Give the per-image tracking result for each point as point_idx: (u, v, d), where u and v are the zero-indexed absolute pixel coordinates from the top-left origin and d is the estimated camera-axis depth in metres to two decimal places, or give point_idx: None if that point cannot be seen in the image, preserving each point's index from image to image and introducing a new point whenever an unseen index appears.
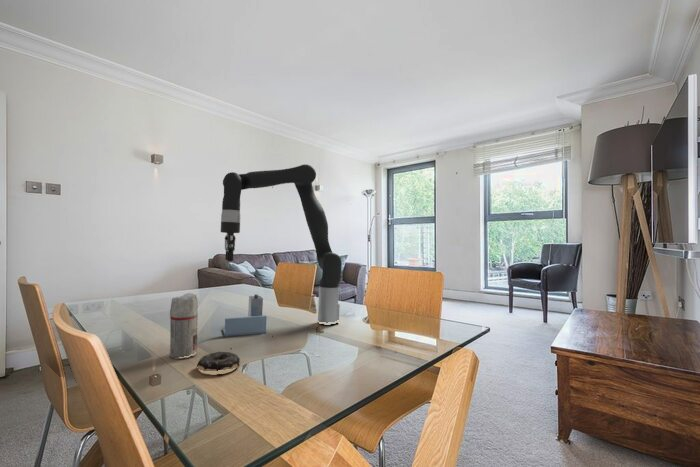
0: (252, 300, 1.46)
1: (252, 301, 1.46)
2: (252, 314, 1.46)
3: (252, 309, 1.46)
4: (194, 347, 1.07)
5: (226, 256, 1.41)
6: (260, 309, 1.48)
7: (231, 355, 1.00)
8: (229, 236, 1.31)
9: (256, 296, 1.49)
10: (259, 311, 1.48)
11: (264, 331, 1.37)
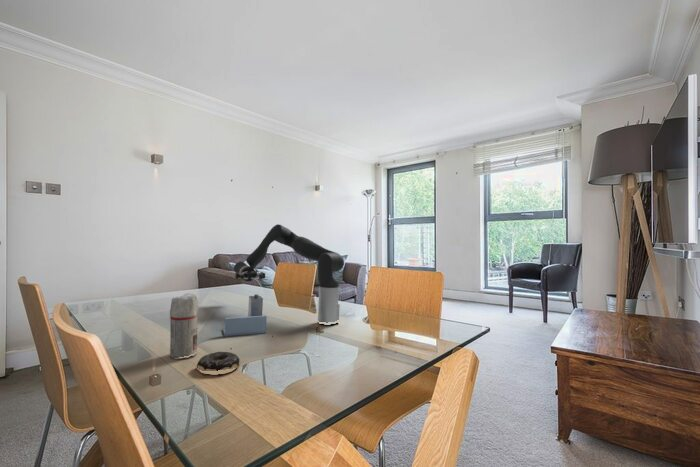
0: (252, 300, 1.46)
1: (252, 301, 1.46)
2: (252, 314, 1.46)
3: (252, 309, 1.46)
4: (194, 347, 1.07)
5: (259, 278, 1.64)
6: (260, 309, 1.48)
7: (231, 355, 1.00)
8: None
9: (256, 296, 1.49)
10: (259, 311, 1.48)
11: (264, 331, 1.37)
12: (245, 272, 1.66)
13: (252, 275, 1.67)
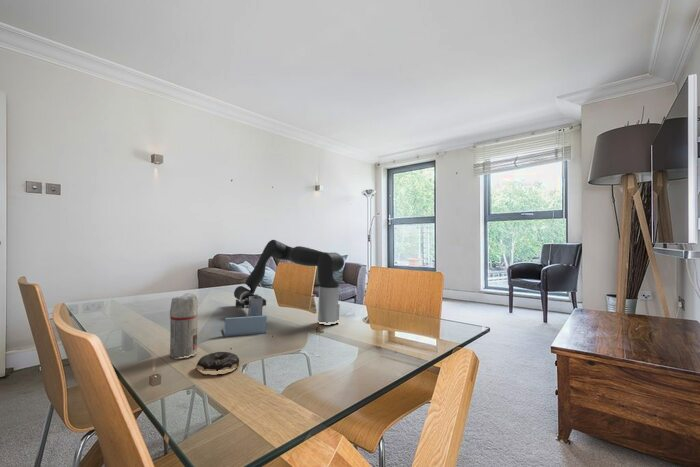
0: (252, 300, 1.46)
1: (252, 301, 1.46)
2: (252, 314, 1.46)
3: (252, 309, 1.46)
4: (194, 347, 1.07)
5: None
6: (260, 309, 1.48)
7: (231, 355, 1.00)
8: None
9: (256, 296, 1.49)
10: (259, 311, 1.48)
11: (264, 331, 1.37)
12: (246, 299, 1.62)
13: None
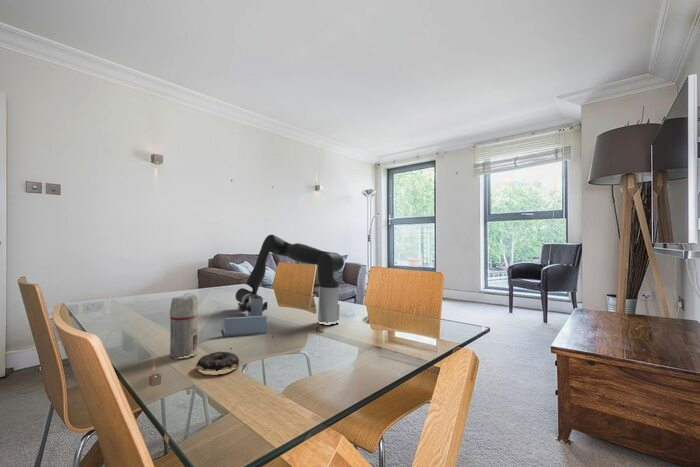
0: (252, 300, 1.46)
1: (252, 301, 1.46)
2: (252, 314, 1.46)
3: (252, 309, 1.46)
4: (194, 347, 1.07)
5: None
6: (260, 309, 1.48)
7: (230, 355, 1.00)
8: (238, 307, 1.54)
9: (256, 296, 1.49)
10: (259, 311, 1.48)
11: (264, 331, 1.37)
12: None
13: None
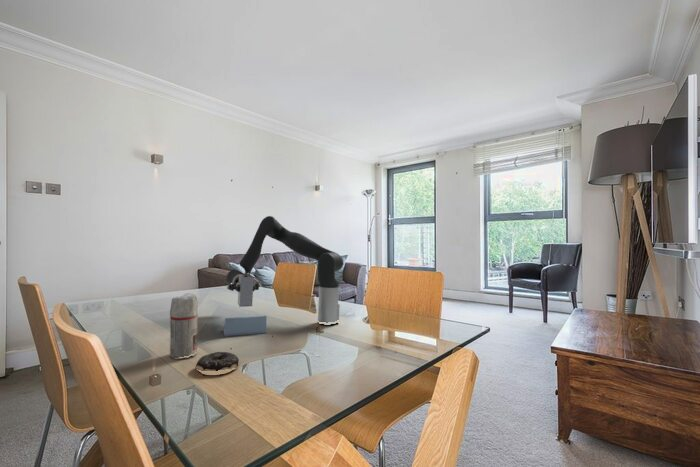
0: (242, 279, 1.36)
1: (242, 280, 1.36)
2: (242, 294, 1.36)
3: (242, 288, 1.36)
4: (194, 347, 1.07)
5: None
6: (250, 288, 1.37)
7: (230, 355, 1.00)
8: (227, 287, 1.43)
9: (246, 275, 1.38)
10: (250, 290, 1.37)
11: (264, 331, 1.37)
12: None
13: None
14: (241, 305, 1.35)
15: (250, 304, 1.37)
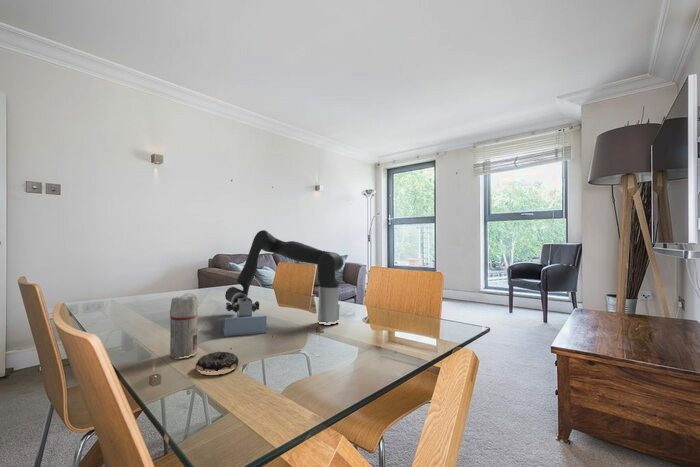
0: (241, 303, 1.35)
1: (241, 304, 1.35)
2: None
3: (240, 313, 1.35)
4: (194, 347, 1.07)
5: (252, 310, 1.39)
6: (249, 313, 1.36)
7: (230, 355, 1.00)
8: None
9: (245, 299, 1.37)
10: (248, 314, 1.36)
11: (264, 331, 1.37)
12: None
13: None
14: None
15: None
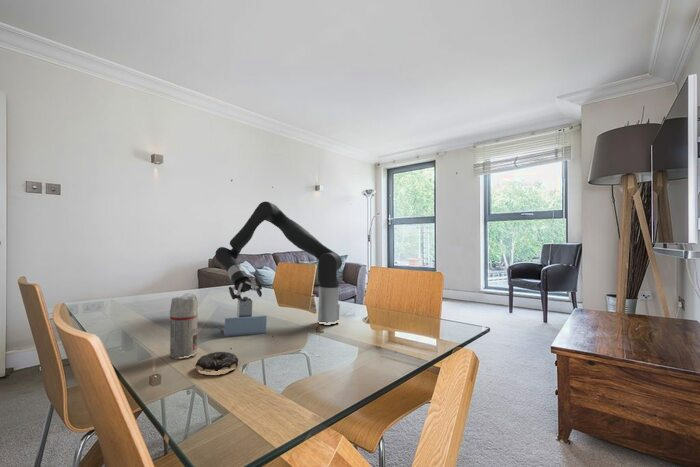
0: (240, 303, 1.35)
1: (240, 304, 1.35)
2: None
3: (240, 313, 1.35)
4: (194, 347, 1.07)
5: None
6: (249, 313, 1.37)
7: (230, 355, 1.00)
8: (229, 290, 1.54)
9: (245, 299, 1.37)
10: (248, 314, 1.36)
11: (264, 331, 1.37)
12: (241, 289, 1.53)
13: (248, 289, 1.55)
14: None
15: None
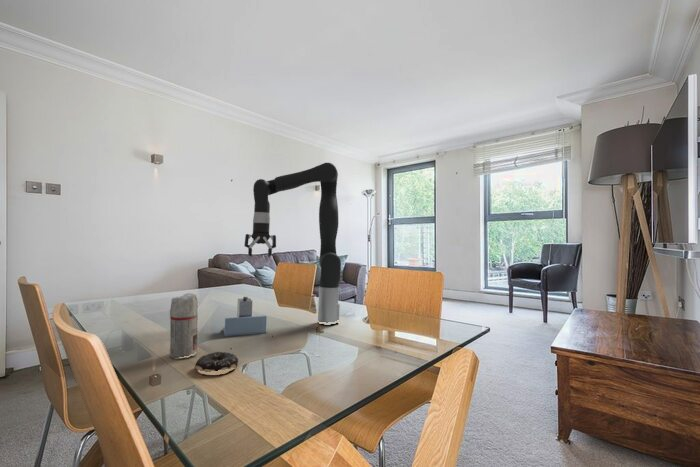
0: (240, 303, 1.35)
1: (240, 304, 1.35)
2: None
3: (240, 313, 1.35)
4: (194, 347, 1.07)
5: (268, 253, 1.59)
6: (249, 313, 1.37)
7: (229, 355, 1.00)
8: None
9: (245, 299, 1.37)
10: (248, 314, 1.36)
11: (264, 331, 1.37)
12: (255, 242, 1.54)
13: (262, 243, 1.57)
14: None
15: None
